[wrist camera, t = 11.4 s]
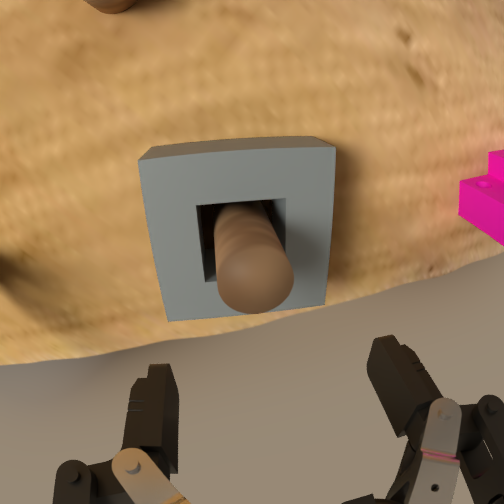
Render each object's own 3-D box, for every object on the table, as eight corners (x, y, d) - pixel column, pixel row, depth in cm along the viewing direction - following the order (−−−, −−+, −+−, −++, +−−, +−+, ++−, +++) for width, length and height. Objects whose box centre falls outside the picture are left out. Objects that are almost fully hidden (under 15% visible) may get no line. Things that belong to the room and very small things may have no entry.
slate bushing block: (311, 136, 23) (336, 147, 19) (307, 271, 29) (324, 305, 24) (151, 147, 22) (137, 160, 18) (172, 284, 28) (167, 321, 23)
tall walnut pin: (262, 187, 25) (295, 245, 16) (263, 234, 27) (292, 309, 18) (210, 191, 24) (213, 252, 15) (215, 239, 26) (220, 317, 17)
